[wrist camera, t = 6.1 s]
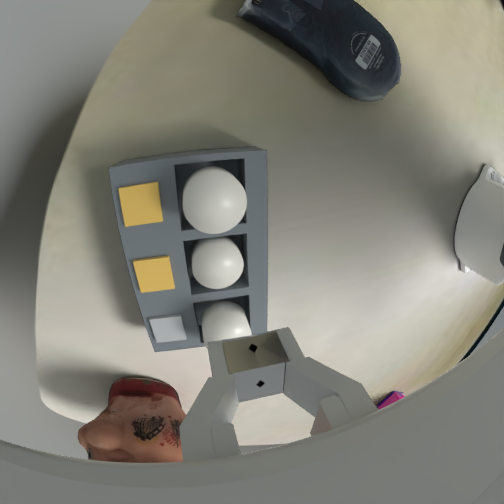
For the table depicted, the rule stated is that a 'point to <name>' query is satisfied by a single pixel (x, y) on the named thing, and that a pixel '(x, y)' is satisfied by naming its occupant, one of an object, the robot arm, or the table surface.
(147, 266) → the button panel
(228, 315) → the button
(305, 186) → the table surface
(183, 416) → the character mug
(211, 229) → the end button
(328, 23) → the electronic device
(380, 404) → the supplement box
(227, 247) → the middle button
